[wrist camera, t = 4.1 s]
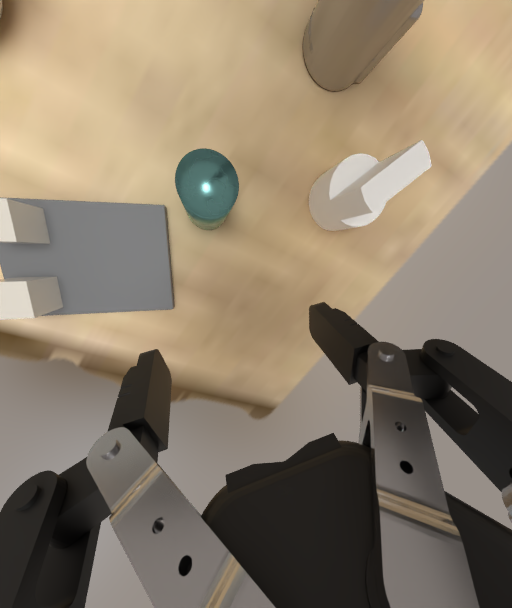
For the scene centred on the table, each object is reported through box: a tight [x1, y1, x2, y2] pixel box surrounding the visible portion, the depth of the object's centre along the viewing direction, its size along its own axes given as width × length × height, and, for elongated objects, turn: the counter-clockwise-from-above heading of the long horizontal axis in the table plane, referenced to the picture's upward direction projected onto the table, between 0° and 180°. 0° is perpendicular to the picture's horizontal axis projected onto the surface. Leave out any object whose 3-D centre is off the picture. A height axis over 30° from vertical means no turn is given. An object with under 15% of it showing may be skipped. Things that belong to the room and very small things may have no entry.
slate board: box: [0, 198, 174, 316], centre depth 29 cm, size 19×14×2 cm
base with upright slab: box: [309, 140, 431, 231], centre depth 29 cm, size 9×9×12 cm
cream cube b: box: [0, 198, 50, 244], centre depth 24 cm, size 4×4×5 cm
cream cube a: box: [0, 277, 63, 320], centre depth 25 cm, size 4×4×5 cm
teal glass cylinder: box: [175, 149, 239, 230], centre depth 25 cm, size 6×6×12 cm
